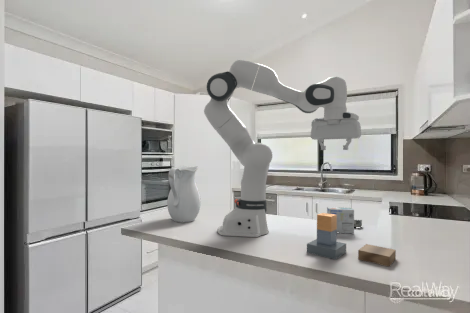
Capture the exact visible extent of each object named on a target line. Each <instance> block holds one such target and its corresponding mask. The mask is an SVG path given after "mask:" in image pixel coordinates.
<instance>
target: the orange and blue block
mask: <svg viewBox="0 0 470 313" xmlns="http://www.w3.org/2000/svg"><path fill="white" fill-rule="evenodd" d="M337 235H338V233H337V215H335V214H327V212H321V213H318V214H316V239H317V244H321V245H325V246H330V247H331V246H333V245H335V244H336V242H337V238H338V237H337Z"/></svg>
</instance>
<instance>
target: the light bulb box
mask: <svg viewBox="0 0 470 313" xmlns="http://www.w3.org/2000/svg"><path fill="white" fill-rule="evenodd" d="M326 213H327V214H335V215H337V232H340V233H339V234H346V233H354V234H355V228H354V220H355V209H354V208H351V207H344V206H343V207H341V206H327V207H326Z"/></svg>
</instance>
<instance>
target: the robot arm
mask: <svg viewBox="0 0 470 313" xmlns="http://www.w3.org/2000/svg"><path fill="white" fill-rule="evenodd" d="M347 86H348V85H347V82H346V80H345V79H344V78H342V77H340V76H331V77H328V78H327V79H325V80H323V81H321V82H318V83H317V82H316V83H313V84H310V85H309V86H308V87H307V88H306V89H304V90H302V91H301V90H297V89H294V88H292V87H289V86H286V85H284V84H283V83H282V82H280V80H279V77H278V75H277V73H276V72H275V70H274V69H272V68H270V67H269V66H267V65H264V64H260V63H258V62H253V61H249V60H244V59H243V60H242V59H237V60H235V61H234V62H233V63H232V64H231V66H230V69H229V71H228V70H227V71H224V72H219V73H215V74H213V75H212V76H210V77H209V79H208V81H207V82H206V92H207V94H208V96H209V97H210V100H209V102H208V103H207V104H206V105H205V107H204V110H203V113H204V115H205V117H206V119H207V120H208V122H209V124H210V125H211V127H212V128H213V129H214V131H216V132H217V134H218V135H219V137H221V138H222V140H223V141H224V142H225V143H226V144H227V146H228V147H229V149H230V150H231V152H232V154H234V156H235V157H236V159H237V161H239V163H240V164H241V165H242V166H243V171H242V172H243V174H242V177H241V181H240V198H239V199H238V198H236V199H234V203H235V208H234V209H232V210H231V211H229V213H227V214H225V216H224V219H223V221H222V225H220V226H218V228H217V233H218V234H219V235H221V236H230V237H247V238H258V237H260V236H264V235H268V234H269V232H270V231H269V226H268V223H267V222H268V220H267V209H268V201H267V199H266V198H267V197H266V195H267V181H268V180H267V179H268V174H269V169H270V163H272V160H273V151H272V149H271V148H270V146H268V145H267V144H264V143H262V142H255V141H254V139H253V138H252V136H251V135H250V133H249V131H248V130H249V129H248V128H247V126H246V125H245V124H244V123H243V122H242V120H241V119H240V118H239V117H238V116H237V115H236V113H235V112H234V111H233V110H232V108H231V107H230V106H229V105H230V104H229V100H230V99H231V97H232V96H233V94H234V93H235V90H236V89H238V88H241V89H246V90H248V91H252V92H256V93H259V94H263V95H267V96H270V97H273V98H276V99H278V100H281V101H283V102H285V103H288V104H291V105H293V106H295V107H296V108H297V109H298V110H299V111H300V112H302V113H305V114H313V113H315V112H316V111H317V110H318V109H319V108H323V109H324V110H323V117H320V118H314V119H313V120H312V121H311V125H310V126H311V130H310V138H311V140H315V141H317V140H318V141H317V142H318V144H319V146H320V151H326V149H327V146H326V145H325V144H324V143H323V142H325V141H324V140H345V142H346V143H345V145H344V144H343V145H342V148H343V151H349V146H350V144H351V143H352V139H360V138H361V137H362V127H361V126H362V125H361V123H360V122H359V119H360V118H359V117H360V116H359V115H357V114H356V113H353V112H349V111H347V109H348V108H347V100H348V88H347Z"/></svg>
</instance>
